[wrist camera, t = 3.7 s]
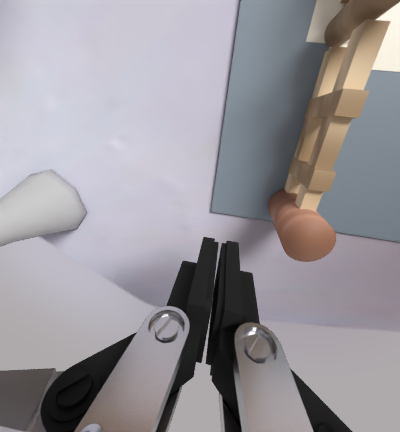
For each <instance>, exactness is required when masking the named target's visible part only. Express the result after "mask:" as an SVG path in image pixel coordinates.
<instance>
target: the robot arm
mask: <svg viewBox="0 0 400 432" xmlns="http://www.w3.org/2000/svg"><path fill="white" fill-rule="evenodd" d="M214 240H215V239H213V238H207V237H204V238H203V241H202V245H201V249H200V253H199V257H198V261H197V263H193V262H188V261H183V262H182V264H181V267H180V270H179V273H178V276H177V278H176V281H175V284H174V287H173V289H172V292H171V295H170V298H169V300H168V303H167V306H163V307H160V308H157V309H155V310H154V311H152V312H151V313H150V314H149V315H148V316H147V318H146V319H145V321H144V322H143V324H142V325H141V327H140V329H139V330H138V332H136V333H134V334H132V335H130V336H129V337H127V338H125V339H123V340H121V341H119V342H117V343H115V344H113V345H111V346H109V347H108V348H106V349H104V350H102V351H100V352H98V353H96V354H94V355H93V356H91V357H89V358H87V359H85V360H83V361H81V362H79V363H77V364H75V365H74V366H72V367H70V368H69V369H67V370H66V371H59V372H56V369H55V368H51V369H30V370H9V371H0V432H168V430H169V426H170V423H171V420H172V417H173V414H174V411H175V408H176V405H177V402H178V399H179V395H180V392H181V389H182V385H184V384H185V383H186V382H187V381H189V380H190V379H191V378H192V377H193V376H194V370H195V364H196V362H199V363H201V362H202V357H203V351H204V346H205V340H206V335H207V329H208V324H209V318H210V313H211V319H210V328H209V338H208V348H207V357H206V364H208V365H211V371H210V375H212V382H213V383H214V385H215V386H216V388H217V390H218V391H219V405H220V420H221V432H352V431H351V430H350V429H349V428H348V427H347V426H346V425H345V424H344V423H343V422H342V421H341V420H340V419H339V418H338V417H337V416H336V415H335V414H334V413H333V412H332V411H331V409H330V408H328V406H327V405H326V404H325V403H324V402H323V401H322V400H321V399H320V398H319V397H318V396H317V395H316V394H315V393H314V392H313V391H312V390H311V389H310V388H309V387H308V386H307V385H306V384H305V383H304V382H303V381H302V380H301V379H300V378H299V377H298V376H297V375H296V374H295V373H294V372H293V371H292V370H291V369H290V367H289V364H288V362H287V359H286V356H285V354H284V351H283V348H282V346H281V344H280V342H279V340H278V338H277V337H276V336H275V335H274V333H273V332H272V331H270V330H269V329H268V328H266V327H265V326H263V325H261V324H260V322H259V315H258V309H257V302H256V295H255V288H254V281H253V275H252V273H250V272H244V271H240V260H239V244H238V242H232V241H227V242H226V244H225V243H222V246H221V251H220V257H219V262H218V268H217V273H216V279H215V271H216V262H217V253H218V243H219V242H214ZM214 280H215V285H214ZM213 290H214V291H213ZM212 299H213V300H212ZM211 307H212V310H211Z"/></svg>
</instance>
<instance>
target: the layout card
mask: <svg viewBox="0 0 400 432" xmlns="http://www.w3.org/2000/svg"><path fill="white" fill-rule="evenodd" d="M340 1H341V0H241V2H240V9H239V16H238V24H237V31H236V38H235V45H234V52H233V59H232V66H231V73H230V80H229V88H228V95H227V102H226V109H225V116H224V123H223V130H222V137H221V144H220V152H219V159H218V166H217V173H216V180H215V187H214V194H213V201H212V208H211V212H216V213H222V214H228V215H235V216H241V217H247V218H253V219H259V220H266V221H272V222H273V220H272V218H271V215H270V213H269V210H268V202H269V199H270V197H271V196H272V195H273V194H274V193H275V192H277V191H279V190H281V189H284V188H285V184H286V181H287V178H288V174H289V172H288V170H289V167H290V163H291V160H292V157H294V154H295V151H296V148H297V144H298V141H299V138H300V134H301V131H302V128H303V124H304V121H305V118H304V116H305V113H306V110H307V106H308V103H309V100H310V99H311V98H312V95H313V91H314V88H315V85H316V81H317V78H318V75H319V71H320V68H321V65H322V61H323V58H324V55H325V52H327V51H328V50H329V49H330V48H332V47H329V46H327V45H326V43H325V40H324V33H325V29H326V27H327V25H328V24H329V23H330V21H331V20H332V19H333V18H334V17H335V16H336V15H337V14H338V13H339V12H340V11H341V9H342V8H343V7H344V6H345V5H346V4H347V3H340ZM376 20H381V21H391V22H390V24H389V27H388V29H387V32H386V34H385V37H384V39H383V42H382V44H381V47H380V50H379V52H378V55H377V57H376V60H375V62H374V65H373V67H372V70H371V72H370V75H369V77H368V80H367V83H366V85H365V88H364V90H367V91H370V92H369V94H368V97H367V99H366V101H365V104H364V106H363V109H362V111H361V114H360V116H359V118H353V119H352V121H351V123H350V126H349V128H348V131H347V133H346V136H345V138H344V141H343V144H342V146H341V149H340V151H339V154H338V156H337V159H336V161H335V164H334V166H333V169H332V170H333V171H335V172H337V173H336V175H335V178H334V180H333V183H332V185H331V188H330V190H329V192H323V194H322V197H321V199H320V202H319V205H318V207H317V210H316V211H317V212H318V213H319V214H320V215H321V216H322V217H323V218H324V219H325V221H326V222H327V223H328V224H329V225H330V226H331V227H332V228H333V229H334V231H335V232H341V233H347V234H353V235H359V236H365V237H372V238H378V239H384V240H390V241H397V242H400V2H399V3H398V4H396V5H395V6H394V7H392V8H391V9H390V10H388V11H387V12H385V13H384V14H383V15H381V16H380V17H379V18H377V19H376ZM349 40H350V39H349ZM349 40H348V41H346V42H345V43H344V44H342V45H341V46H339V47H347V46H348V43H349Z"/></svg>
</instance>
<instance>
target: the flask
mask: <svg viewBox="0 0 400 432" xmlns="http://www.w3.org/2000/svg"><path fill="white" fill-rule="evenodd" d="M86 213H87V212H86V210H85V208H84V206H83V203H82V201H81V199H80V197H79V195H78V193H77V191H76V189H75V187H73V186H72V185H71V184H69V183H68V182H67V181H66V180H64V179H63V178H62V177H60V176H59V175H58V174H57V173H55V172H54V171H53V170H48V171H44V172H40V173H35V174H31V175H29V176H28V177H27V178H25V179H24V180H23V181H22V182H20V183H19V184H18V185H17V186H16V187H14V188H13V189H12V190H11V191H10V192H8V193H7V194H6V195H4V196H3V197H2V198H1V199H0V246H3V245H6V244H9V243H12V242H15V241H20V240H24V239H29V238H33V237H37V236H42V235H46V234H52V233H57V232H62V231H67V230H72V229H77V227H78V226H79V224H80V223H81V221H82V219H83V218H84V216H85V215H86Z"/></svg>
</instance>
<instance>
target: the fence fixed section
mask: <svg viewBox="0 0 400 432" xmlns="http://www.w3.org/2000/svg"><path fill="white" fill-rule="evenodd" d="M399 2H400V0H341V1H340V3H347V4H346V5H345V6H344V7H343V8H342V9H341V11H340V12H339V13H338V14H337V15H336V16H335V17H334V18H333V19H332V20H331V21H330V23H329V24H328V25H327V27H326V29H325V33H324V40H325V43H326V45H327V46H329V47H333V46H336V47H339V46H341V45H342V44H344V43H345V42H346V41H348V40H349V39H350V37H351V34H352V31H353V30H354V29H356V28H357V27H358V26H359V25H361V24H362V23H363V22H364V21H366V20H376V19H377V18H379V17H380V16H381V15H383V14H384V13H385V12H387V11H388V10H390V9H391V8H392V7H394V6H395V5H396V4H398V3H399Z"/></svg>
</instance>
